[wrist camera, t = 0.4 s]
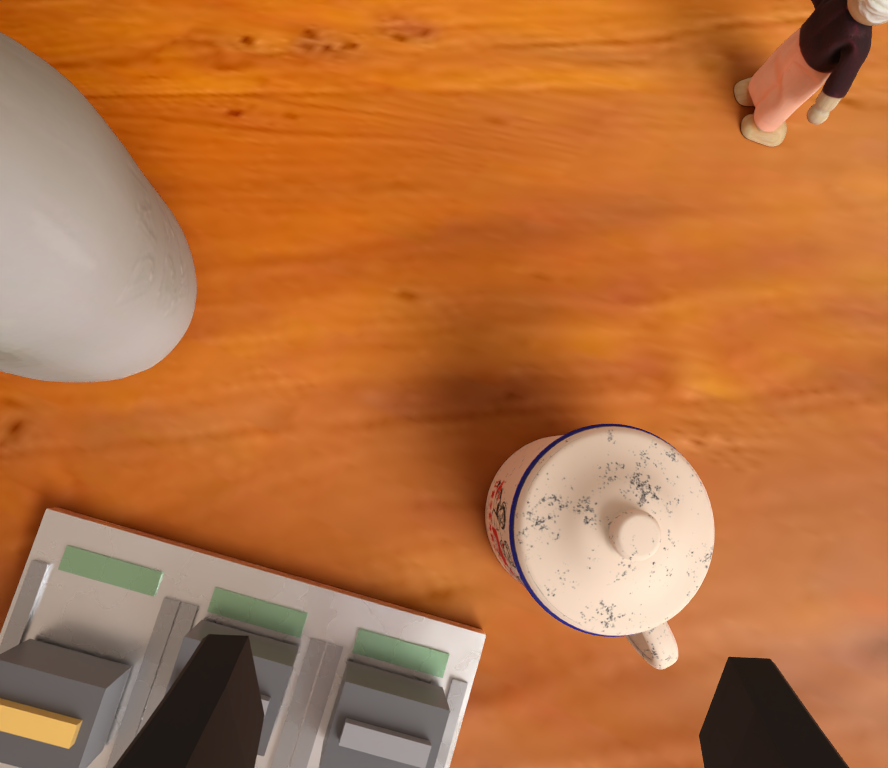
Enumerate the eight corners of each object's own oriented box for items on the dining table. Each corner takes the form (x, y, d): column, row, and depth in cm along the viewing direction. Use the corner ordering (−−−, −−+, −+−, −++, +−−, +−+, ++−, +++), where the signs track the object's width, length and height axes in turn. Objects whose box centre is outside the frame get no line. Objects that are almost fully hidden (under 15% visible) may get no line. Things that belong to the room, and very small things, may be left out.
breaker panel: (394, 944, 37) (395, 964, 35) (-62, 828, 35) (-81, 844, 34) (482, 629, 39) (487, 636, 37) (56, 507, 37) (43, 508, 36)
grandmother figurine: (807, 154, 44) (983, 31, 31) (749, 170, 43) (905, 50, 31) (766, 36, 44) (924, -132, 32) (709, 50, 44) (846, -115, 31)
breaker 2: (419, 767, 36) (425, 806, 32) (323, 741, 36) (317, 777, 32) (442, 687, 37) (451, 715, 33) (347, 660, 36) (344, 685, 32)
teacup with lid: (450, 478, 39) (484, 486, 28) (593, 403, 41) (682, 380, 29) (552, 679, 39) (630, 771, 27) (694, 596, 40) (826, 650, 29)
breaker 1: (274, 727, 36) (262, 762, 32) (174, 700, 35) (149, 731, 31) (299, 646, 36) (290, 670, 32) (202, 619, 36) (180, 639, 32)
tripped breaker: (103, 749, 35) (67, 787, 31) (-1, 722, 34) (-50, 757, 30) (131, 666, 35) (100, 693, 31) (29, 638, 35) (-15, 661, 31)
